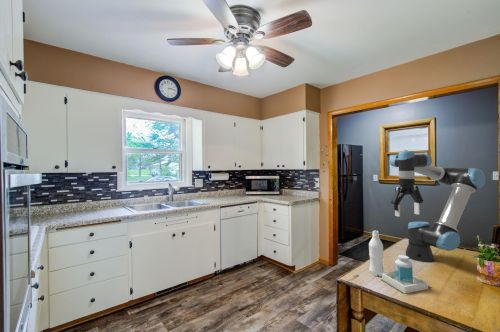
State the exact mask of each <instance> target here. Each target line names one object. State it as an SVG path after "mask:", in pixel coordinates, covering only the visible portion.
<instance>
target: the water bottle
mask: <svg viewBox="0 0 500 332" xmlns="http://www.w3.org/2000/svg"><path fill="white" fill-rule="evenodd" d="M371 236H372V237H371V239H370V240H369V242H368V252H369V253H368V254H369V269H368V270H369V273H370V274H371V275H372V276H373V277H381V278H382V274H383V273H385V269H384V264H383V263H384V261H383V260H384V244H383V242H382V240H381V239H380V234H379V230H375V229H374V230H372V234H371Z"/></svg>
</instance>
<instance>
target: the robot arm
mask: <svg viewBox="0 0 500 332" xmlns="http://www.w3.org/2000/svg"><path fill="white" fill-rule="evenodd" d="M432 163H433V158H432V156H431V155H429V154H428V153H427V154H425V153H423V154H422V153H420V154H419V153H417V154H415V152H414V151H413V150H408V151H407V150H404V151H399V152H398V154H397V155H392V156H391V157H390V158H389V164H390V166H392V167H393V168H398V178H399V179H398V185H399V186H395V187H394V193H393V196H392V197H391V201H390V204H392V205H393V207H394V208H393V211H394V216H395V217H399V218H401V205H400V204H401V201H402V200H403V198H404V197H405V196H407V195H409V196H410V197H411V198H412V200H413V201H414V203H413V208H414V209H413V210H414V212H413V213H414V215H418V216H419V215H420V214H421V204H422V203H423V202H424V198H423V197H422V194H421V192H420V189H419V186H418V185H416V184H415V182H416V181H415V177H416V176H415V175H416V174H419V175H423V176H426V177H429V178H430V179H431V180H432V181H436V182H438V183H441V184H444V185H448V186H451V187H452V191H451V192H450V194H449V196H448V199H447V202H446V204H445V205H444V208H443V210H442V212H441V215H440V218H439V219H438V221H435V222H434V223H433V225H431V224H430V222H428V221H410V222H408V224H407V226H408V227H407V234H408V235H407V236H408V244H407V247H406V250H405V256H408V257H409V259H410V260H413V261H419V262H424V263H425V262H426V263H430V262H433V261H434V260H435V255H434V254H433V250H432V248H431V247H433V248H436V249H439V250H443V251H448V252H452V251H454V250H456V249H457V248H458V247H459V245H460V243H461V236H460V234H459V231H458V229H457V227H458V225H459V222H460V220H461V218H462V215H463V214H464V210H465V208H466V206H467V204H468V202H469V199H470V196H471V194H474V193H476V191H477V189H481V188H483V187H484V186H485V185H486V175H485V173H484V171H482V169H479V168H475V167H469V168H468V167H442V166H434V165H432ZM415 173H416V174H415Z"/></svg>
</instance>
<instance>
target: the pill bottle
mask: <svg viewBox="0 0 500 332" xmlns="http://www.w3.org/2000/svg"><path fill="white" fill-rule="evenodd" d="M394 266H395V267H394V269H395V271H394V272H395V274H396V281H397V282H399V283H401V284H402V285H405V286H406V285H411V284H413V275H414V272H413V263H412V261H410V258H409V257H408V256H406V254H405V255H404V254H399V255H398V256H397V259H396V260H395V262H394Z"/></svg>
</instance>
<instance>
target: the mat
mask: <svg viewBox="0 0 500 332" xmlns="http://www.w3.org/2000/svg"><path fill="white" fill-rule="evenodd" d="M380 281H382V282H383V283H384V284H387V286H389V287H391V288H392V289H394V290H396V291H397V292H399V293H401V294H402V295H403V294H404V295H405V294H406V293H403V292H402V291H400V290H398V289H397V288H395V287H393V286H392V285H390V284H389V283H387V282H385V281H384V280H382V279H380ZM430 289H433V286H430V285H428V289H425V290H430ZM425 290H424V291H425Z"/></svg>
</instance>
